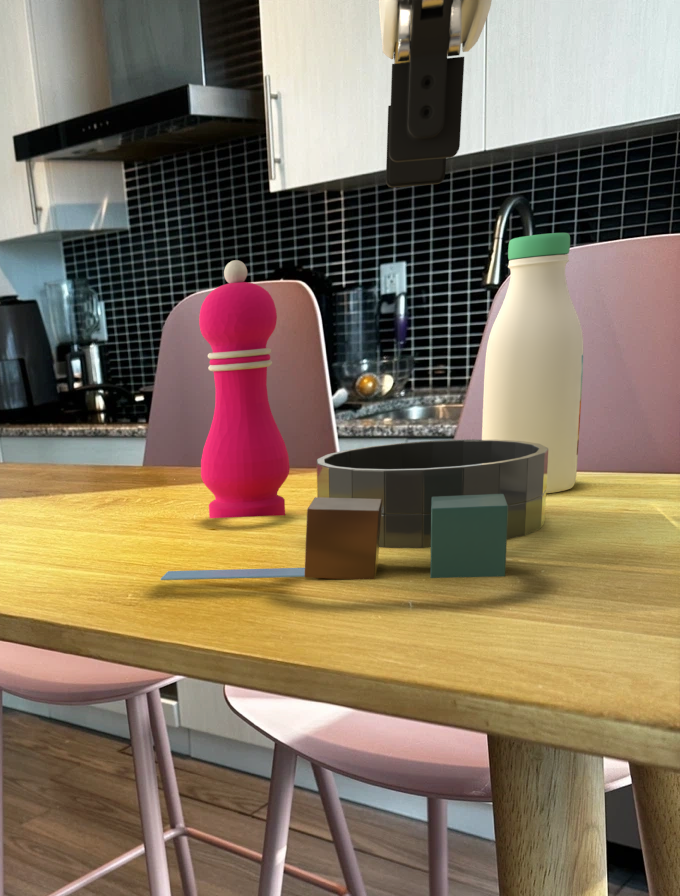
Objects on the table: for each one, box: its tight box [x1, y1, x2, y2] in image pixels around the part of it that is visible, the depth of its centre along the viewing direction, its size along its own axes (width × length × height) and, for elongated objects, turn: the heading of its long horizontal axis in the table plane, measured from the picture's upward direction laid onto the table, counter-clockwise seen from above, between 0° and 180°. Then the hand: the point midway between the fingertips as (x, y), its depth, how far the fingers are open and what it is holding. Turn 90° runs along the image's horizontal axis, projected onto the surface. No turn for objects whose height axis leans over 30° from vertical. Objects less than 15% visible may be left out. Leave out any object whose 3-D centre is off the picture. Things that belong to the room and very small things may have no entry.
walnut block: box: [303, 496, 382, 581], centre depth 60 cm, size 4×4×4 cm
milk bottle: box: [481, 232, 584, 494], centre depth 85 cm, size 8×8×20 cm
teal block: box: [429, 494, 508, 579], centre depth 59 cm, size 4×4×4 cm
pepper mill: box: [198, 259, 291, 519], centre depth 82 cm, size 7×7×20 cm
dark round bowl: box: [315, 438, 549, 549], centre depth 72 cm, size 15×15×6 cm
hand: (418, 173), depth 53 cm, fingers open, 9 cm apart
